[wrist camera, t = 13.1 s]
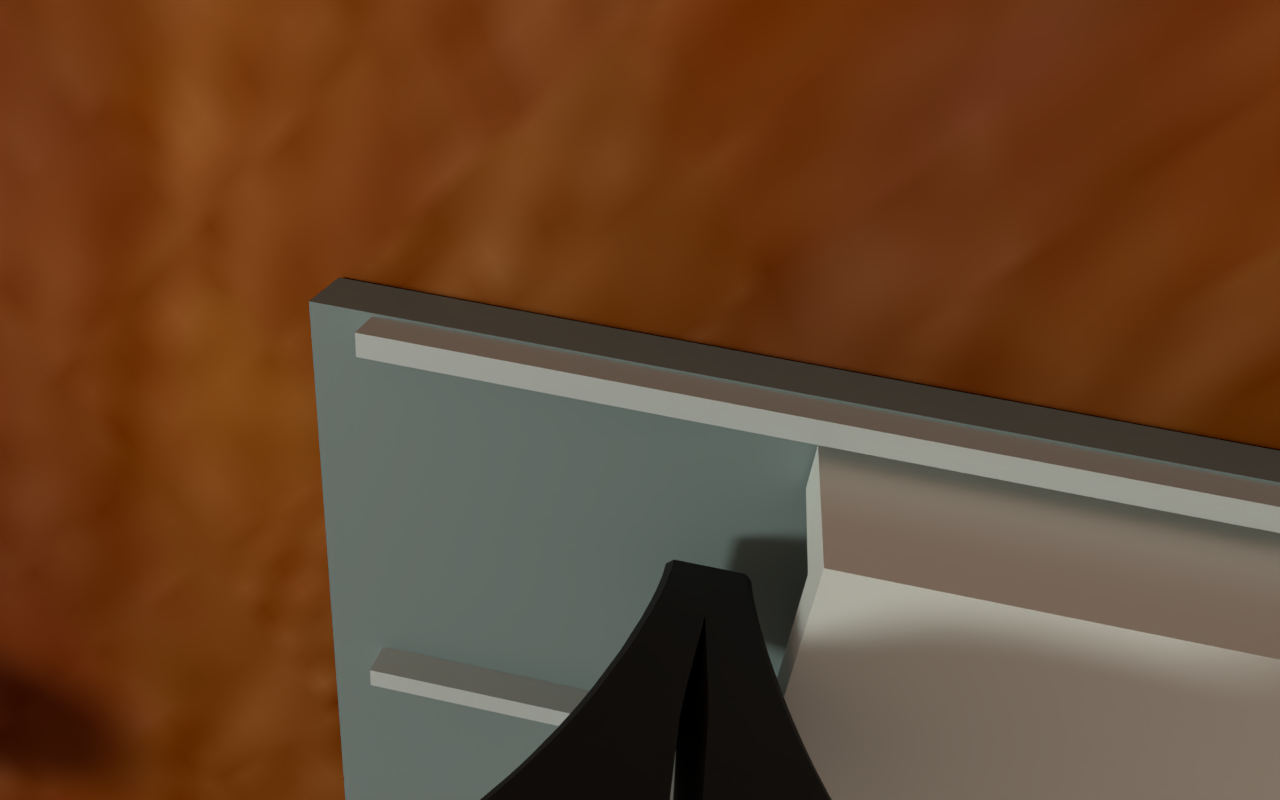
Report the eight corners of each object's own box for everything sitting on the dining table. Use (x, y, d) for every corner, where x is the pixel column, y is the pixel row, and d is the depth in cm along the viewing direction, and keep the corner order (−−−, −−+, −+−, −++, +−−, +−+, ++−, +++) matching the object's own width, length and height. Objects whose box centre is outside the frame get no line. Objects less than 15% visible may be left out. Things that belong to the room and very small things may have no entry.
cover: (1131, 799, 15) (1195, 965, 13) (742, 716, 16) (733, 860, 13) (1306, 538, 12) (1433, 690, 10) (818, 445, 13) (823, 568, 10)
